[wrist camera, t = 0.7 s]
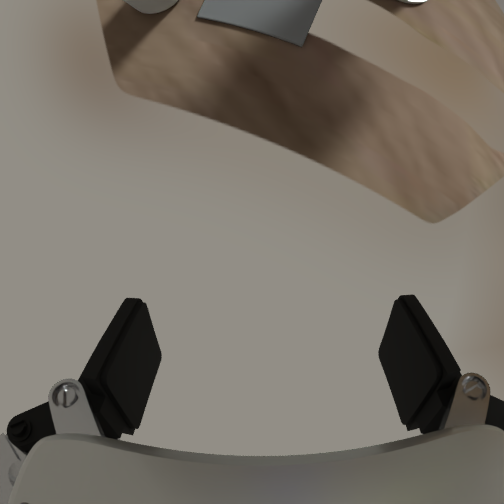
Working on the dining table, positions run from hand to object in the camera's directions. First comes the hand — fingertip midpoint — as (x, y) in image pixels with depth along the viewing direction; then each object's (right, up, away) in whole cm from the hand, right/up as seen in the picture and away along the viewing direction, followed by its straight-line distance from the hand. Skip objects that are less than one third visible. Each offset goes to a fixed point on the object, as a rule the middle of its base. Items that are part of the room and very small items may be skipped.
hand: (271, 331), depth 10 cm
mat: (+1, +37, +15) cm, 40 cm away
